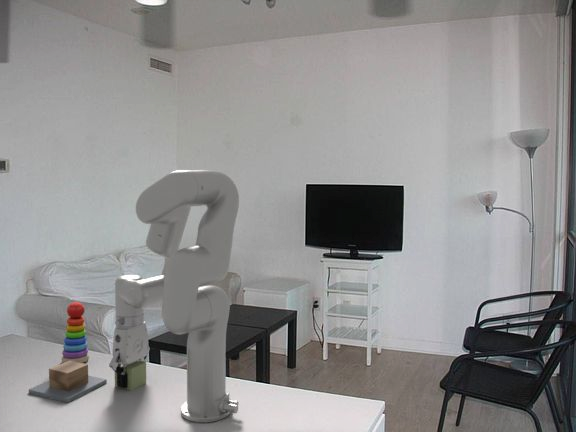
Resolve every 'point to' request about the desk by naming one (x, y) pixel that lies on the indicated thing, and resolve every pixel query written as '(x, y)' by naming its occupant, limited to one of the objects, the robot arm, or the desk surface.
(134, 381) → the olive block
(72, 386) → the walnut block
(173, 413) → the desk surface
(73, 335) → the stacking toy
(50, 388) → the baseplate
